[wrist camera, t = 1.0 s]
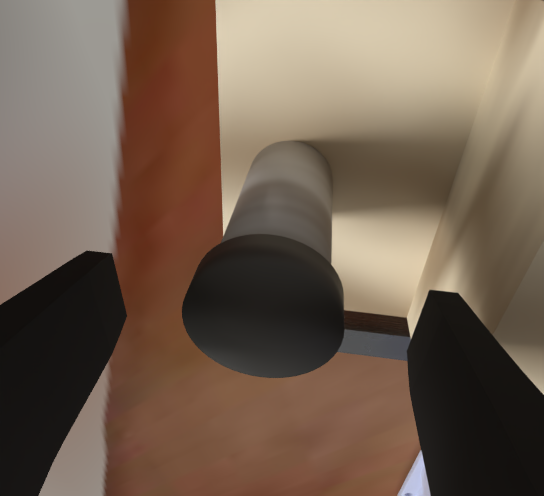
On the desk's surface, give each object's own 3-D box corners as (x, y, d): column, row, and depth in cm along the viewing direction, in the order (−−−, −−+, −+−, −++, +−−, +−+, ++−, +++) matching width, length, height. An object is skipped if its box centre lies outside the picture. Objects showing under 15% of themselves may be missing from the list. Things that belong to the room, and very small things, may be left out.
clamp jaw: (470, 306, 19) (543, 503, 12) (230, 278, 19) (176, 448, 13) (614, -4, 11) (987, 67, 5) (224, -27, 12) (95, 6, 6)
